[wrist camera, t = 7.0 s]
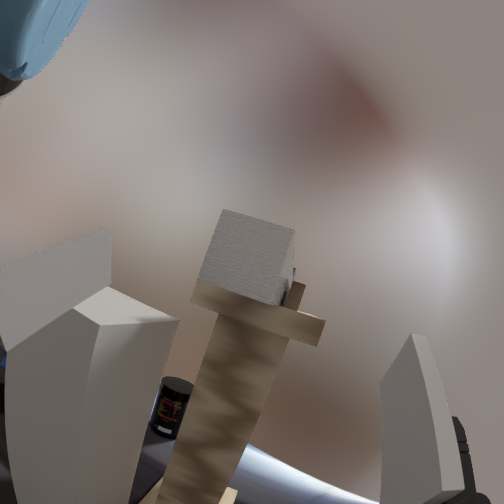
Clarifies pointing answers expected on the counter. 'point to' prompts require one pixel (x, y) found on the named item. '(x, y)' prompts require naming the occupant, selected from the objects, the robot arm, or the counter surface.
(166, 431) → the supplement container
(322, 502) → the counter surface
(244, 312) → the stand
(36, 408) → the block
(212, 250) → the steel bar
